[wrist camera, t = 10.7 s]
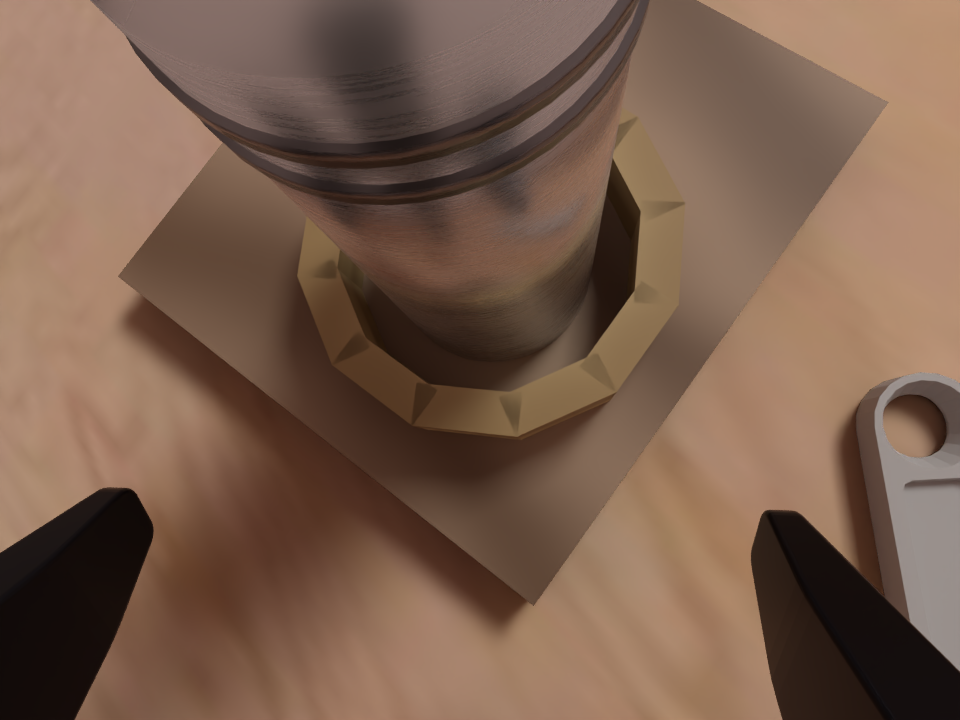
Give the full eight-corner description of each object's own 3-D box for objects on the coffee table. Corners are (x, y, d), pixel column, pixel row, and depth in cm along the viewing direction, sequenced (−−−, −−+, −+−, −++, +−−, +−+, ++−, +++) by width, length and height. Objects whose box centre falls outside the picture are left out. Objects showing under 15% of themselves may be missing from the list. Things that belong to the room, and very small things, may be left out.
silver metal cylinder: (454, 401, 17) (165, 223, 4) (365, 236, 18) (-69, -285, 5) (631, 302, 16) (856, -174, 4) (531, 141, 17) (475, -612, 5)
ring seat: (535, 593, 17) (530, 626, 14) (150, 290, 20) (65, 254, 16) (861, 131, 18) (933, 53, 14) (449, -94, 21) (427, -204, 17)
